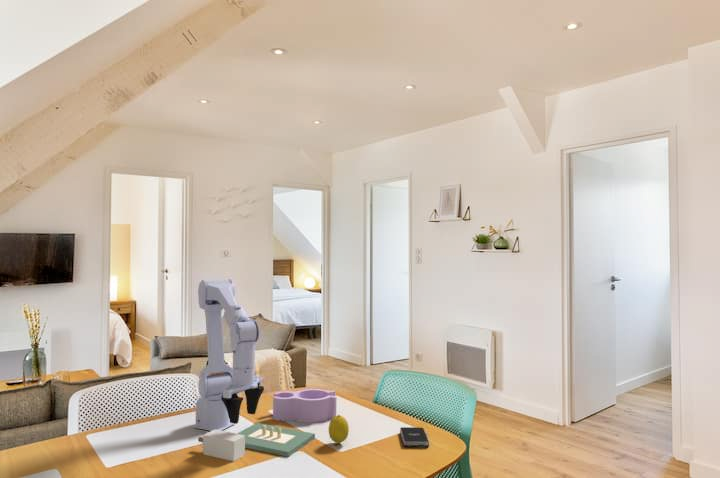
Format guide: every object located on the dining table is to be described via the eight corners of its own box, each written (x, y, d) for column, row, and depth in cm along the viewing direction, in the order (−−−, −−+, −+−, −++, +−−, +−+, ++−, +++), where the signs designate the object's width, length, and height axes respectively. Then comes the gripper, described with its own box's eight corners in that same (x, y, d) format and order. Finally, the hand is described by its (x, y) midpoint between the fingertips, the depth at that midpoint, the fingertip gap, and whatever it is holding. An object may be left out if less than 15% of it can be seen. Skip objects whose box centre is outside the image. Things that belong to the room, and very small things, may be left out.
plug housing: (193, 452, 129) (194, 433, 130) (205, 446, 133) (205, 427, 134) (234, 461, 124) (234, 441, 124) (244, 454, 128) (245, 435, 128)
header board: (226, 443, 135) (226, 430, 135) (256, 426, 148) (256, 414, 148) (288, 456, 127) (288, 442, 127) (314, 437, 140) (315, 424, 140)
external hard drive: (403, 449, 134) (403, 441, 134) (399, 434, 145) (399, 427, 145) (429, 449, 134) (429, 441, 134) (423, 434, 145) (423, 427, 145)
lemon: (346, 449, 133) (346, 419, 133) (326, 447, 134) (326, 417, 134) (350, 441, 138) (350, 412, 138) (331, 439, 139) (331, 410, 139)
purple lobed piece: (272, 423, 151) (272, 401, 151) (274, 410, 164) (274, 389, 164) (336, 422, 154) (337, 399, 154) (334, 409, 166) (334, 388, 166)
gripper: (239, 374, 122) (238, 429, 122) (271, 362, 136) (270, 411, 136) (216, 371, 125) (215, 425, 125) (250, 359, 139) (249, 408, 138)
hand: (242, 418), depth 130 cm, fingers open, 7 cm apart
